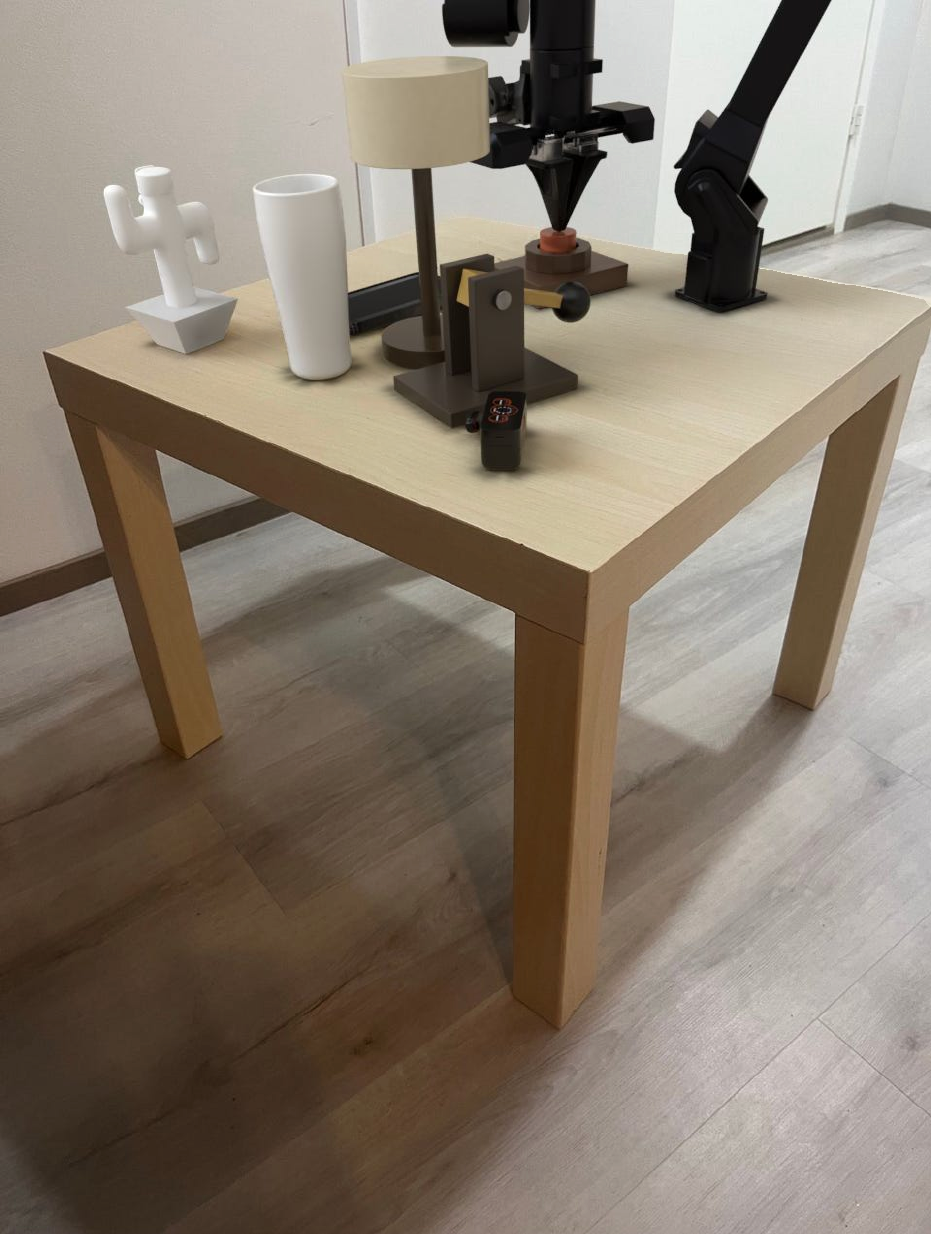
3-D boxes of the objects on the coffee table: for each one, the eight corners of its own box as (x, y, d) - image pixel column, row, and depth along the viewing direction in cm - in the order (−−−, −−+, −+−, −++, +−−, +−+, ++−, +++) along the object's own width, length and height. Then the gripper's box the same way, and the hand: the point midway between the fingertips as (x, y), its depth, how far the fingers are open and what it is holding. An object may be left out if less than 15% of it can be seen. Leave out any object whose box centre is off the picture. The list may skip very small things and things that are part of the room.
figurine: (254, 334, 88) (223, 161, 79) (172, 366, 83) (128, 185, 74) (206, 319, 92) (171, 153, 83) (125, 349, 86) (77, 175, 77)
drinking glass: (328, 392, 77) (301, 198, 68) (266, 377, 80) (232, 189, 71) (376, 363, 81) (357, 177, 72) (316, 350, 84) (290, 170, 75)
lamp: (453, 319, 89) (439, 52, 76) (519, 353, 82) (516, 64, 68) (350, 346, 85) (317, 68, 72) (410, 385, 77) (385, 82, 64)
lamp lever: (568, 318, 79) (578, 279, 78) (592, 329, 77) (603, 289, 75) (451, 304, 72) (460, 261, 71) (473, 315, 70) (483, 271, 69)
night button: (561, 242, 96) (561, 224, 94) (583, 250, 93) (583, 231, 92) (532, 249, 94) (532, 230, 93) (554, 257, 92) (554, 238, 91)
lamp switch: (514, 355, 82) (513, 238, 76) (577, 388, 75) (581, 264, 69) (394, 389, 77) (382, 268, 71) (451, 428, 70) (444, 299, 65)
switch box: (573, 265, 101) (574, 226, 99) (627, 285, 95) (629, 245, 92) (488, 286, 97) (487, 246, 94) (539, 309, 90) (539, 267, 88)
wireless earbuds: (528, 427, 70) (528, 386, 68) (520, 473, 64) (520, 430, 62) (466, 426, 71) (464, 386, 69) (453, 472, 65) (451, 429, 63)
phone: (301, 306, 90) (422, 269, 98) (303, 318, 91) (423, 280, 98) (347, 326, 85) (471, 286, 93) (349, 338, 86) (472, 297, 93)
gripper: (588, 31, 92) (583, 199, 102) (425, 51, 85) (436, 230, 94) (664, 38, 85) (651, 219, 94) (493, 61, 77) (497, 256, 87)
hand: (558, 230), depth 92 cm, fingers closed
